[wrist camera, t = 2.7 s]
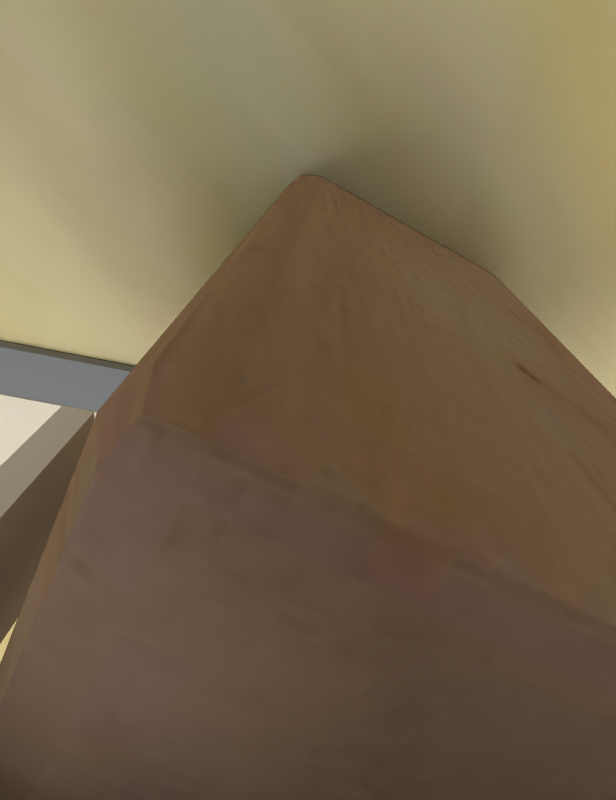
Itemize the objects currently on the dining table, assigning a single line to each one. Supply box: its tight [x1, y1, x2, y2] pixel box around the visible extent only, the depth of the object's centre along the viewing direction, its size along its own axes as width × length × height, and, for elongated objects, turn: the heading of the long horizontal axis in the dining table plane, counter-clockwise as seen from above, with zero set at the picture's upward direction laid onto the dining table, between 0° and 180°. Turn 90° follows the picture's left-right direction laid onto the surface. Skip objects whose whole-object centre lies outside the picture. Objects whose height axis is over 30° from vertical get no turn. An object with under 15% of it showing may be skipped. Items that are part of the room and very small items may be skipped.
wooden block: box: [0, 175, 616, 800], centre depth 15 cm, size 10×10×20 cm
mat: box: [0, 341, 135, 466], centre depth 29 cm, size 18×18×1 cm
